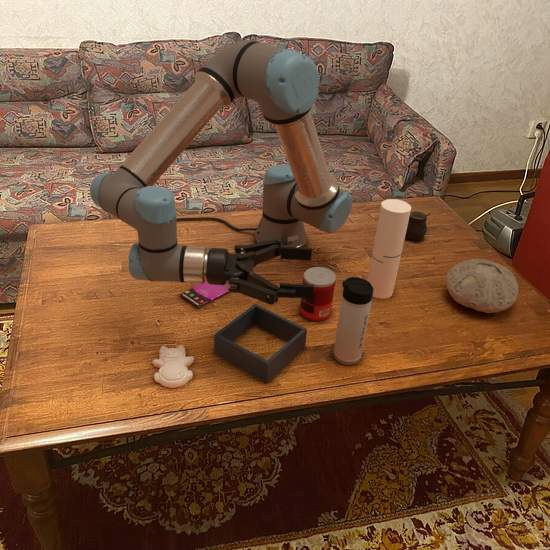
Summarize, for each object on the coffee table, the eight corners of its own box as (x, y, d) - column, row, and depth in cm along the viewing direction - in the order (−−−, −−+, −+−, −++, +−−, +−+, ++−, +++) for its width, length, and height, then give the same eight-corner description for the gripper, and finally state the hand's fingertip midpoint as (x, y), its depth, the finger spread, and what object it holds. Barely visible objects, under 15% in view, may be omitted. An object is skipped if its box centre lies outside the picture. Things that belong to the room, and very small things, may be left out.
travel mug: (329, 347, 127) (340, 274, 116) (357, 346, 128) (370, 274, 117) (334, 366, 122) (345, 292, 111) (363, 365, 122) (378, 291, 111)
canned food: (334, 307, 140) (339, 270, 134) (326, 325, 133) (331, 288, 127) (305, 299, 142) (309, 263, 135) (295, 317, 135) (299, 280, 129)
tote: (213, 353, 123) (213, 334, 120) (254, 321, 133) (255, 303, 130) (266, 383, 116) (268, 364, 113) (305, 347, 126) (307, 329, 123)
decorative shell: (494, 331, 135) (506, 298, 130) (429, 299, 145) (438, 267, 139) (523, 301, 147) (535, 269, 141) (461, 273, 156) (470, 243, 151)
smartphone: (179, 296, 140) (178, 293, 139) (223, 273, 149) (223, 271, 148) (197, 309, 136) (197, 306, 135) (241, 285, 145) (242, 282, 145)
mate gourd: (407, 229, 176) (413, 200, 171) (429, 237, 173) (436, 208, 167) (397, 237, 171) (403, 208, 166) (420, 246, 168) (426, 216, 162)
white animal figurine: (195, 349, 124) (195, 338, 122) (191, 388, 114) (191, 377, 112) (155, 349, 123) (154, 338, 121) (148, 388, 113) (147, 377, 111)
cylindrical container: (392, 300, 144) (411, 214, 130) (364, 296, 144) (380, 210, 131) (393, 285, 149) (411, 201, 135) (366, 281, 150) (381, 197, 136)
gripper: (215, 249, 125) (309, 255, 125) (199, 318, 104) (311, 325, 104) (215, 220, 121) (312, 226, 121) (198, 286, 100) (315, 293, 100)
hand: (312, 272), depth 113 cm, fingers open, 13 cm apart
